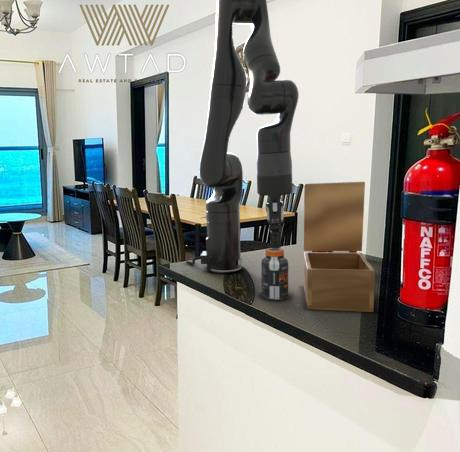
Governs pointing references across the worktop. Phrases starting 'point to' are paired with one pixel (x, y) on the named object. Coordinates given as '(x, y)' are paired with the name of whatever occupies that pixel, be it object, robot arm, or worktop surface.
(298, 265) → the worktop surface
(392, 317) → the worktop surface
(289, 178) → the robot arm
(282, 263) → the pill bottle
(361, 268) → the chest
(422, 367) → the worktop surface
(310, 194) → the lid
